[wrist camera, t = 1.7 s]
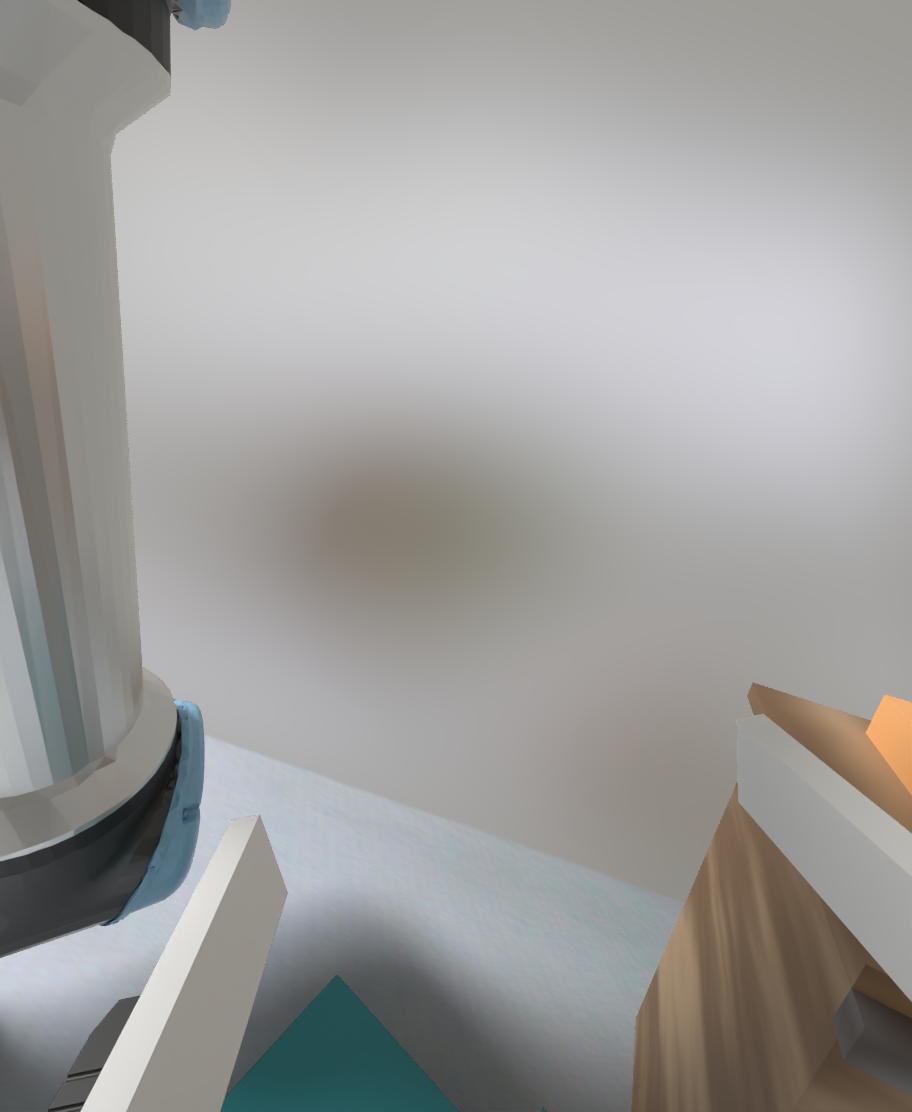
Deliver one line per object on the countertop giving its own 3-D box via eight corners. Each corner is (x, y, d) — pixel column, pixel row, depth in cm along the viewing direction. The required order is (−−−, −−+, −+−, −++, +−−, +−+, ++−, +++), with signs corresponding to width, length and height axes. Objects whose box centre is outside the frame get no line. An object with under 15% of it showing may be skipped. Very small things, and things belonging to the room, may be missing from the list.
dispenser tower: (591, 1446, 20) (880, 1002, 12) (624, 996, 37) (752, 682, 29) (1005, 1846, 15) (2015, 1571, 7) (825, 1116, 32) (1052, 779, 24)
